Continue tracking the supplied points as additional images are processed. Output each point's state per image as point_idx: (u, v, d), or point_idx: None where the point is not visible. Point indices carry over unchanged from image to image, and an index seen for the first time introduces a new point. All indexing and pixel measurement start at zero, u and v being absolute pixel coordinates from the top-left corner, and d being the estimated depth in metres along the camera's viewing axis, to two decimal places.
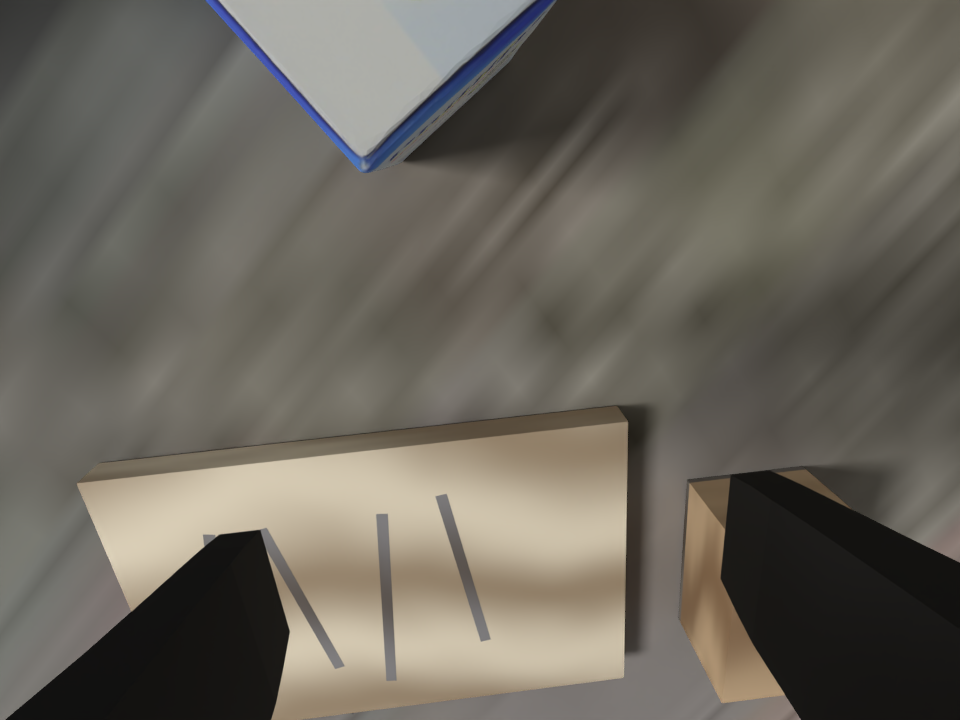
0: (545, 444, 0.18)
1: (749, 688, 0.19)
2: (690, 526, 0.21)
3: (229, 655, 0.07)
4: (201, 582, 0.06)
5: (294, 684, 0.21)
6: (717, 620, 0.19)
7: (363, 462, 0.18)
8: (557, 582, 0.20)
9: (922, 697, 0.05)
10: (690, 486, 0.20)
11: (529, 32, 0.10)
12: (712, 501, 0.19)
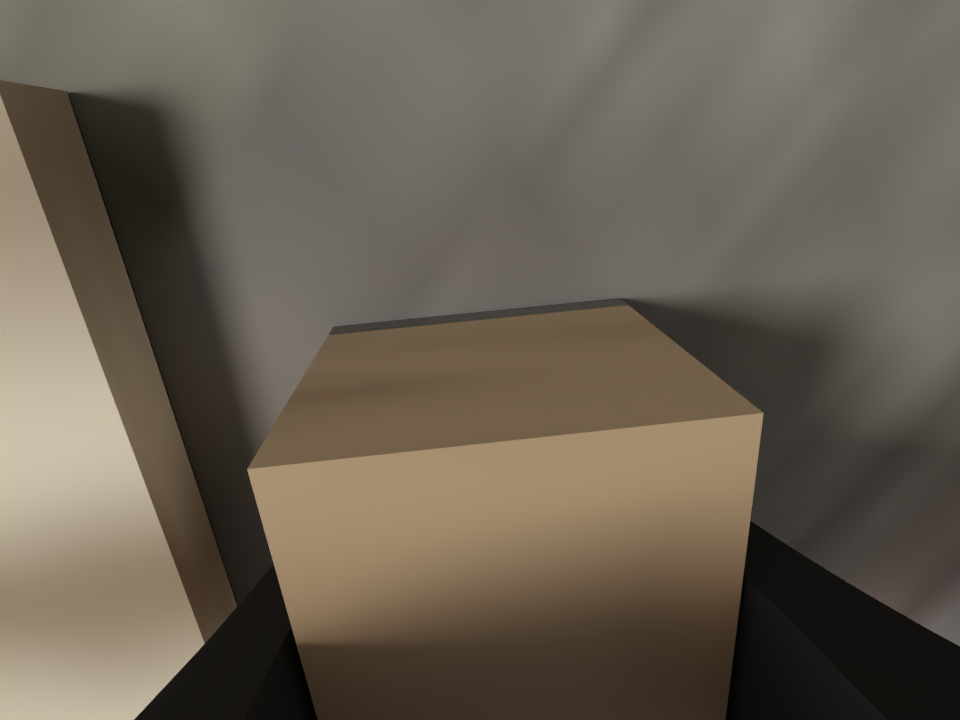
0: None
1: None
2: None
3: None
4: None
5: None
6: None
7: None
8: None
9: (792, 714, 0.05)
10: None
11: None
12: (333, 363, 0.07)
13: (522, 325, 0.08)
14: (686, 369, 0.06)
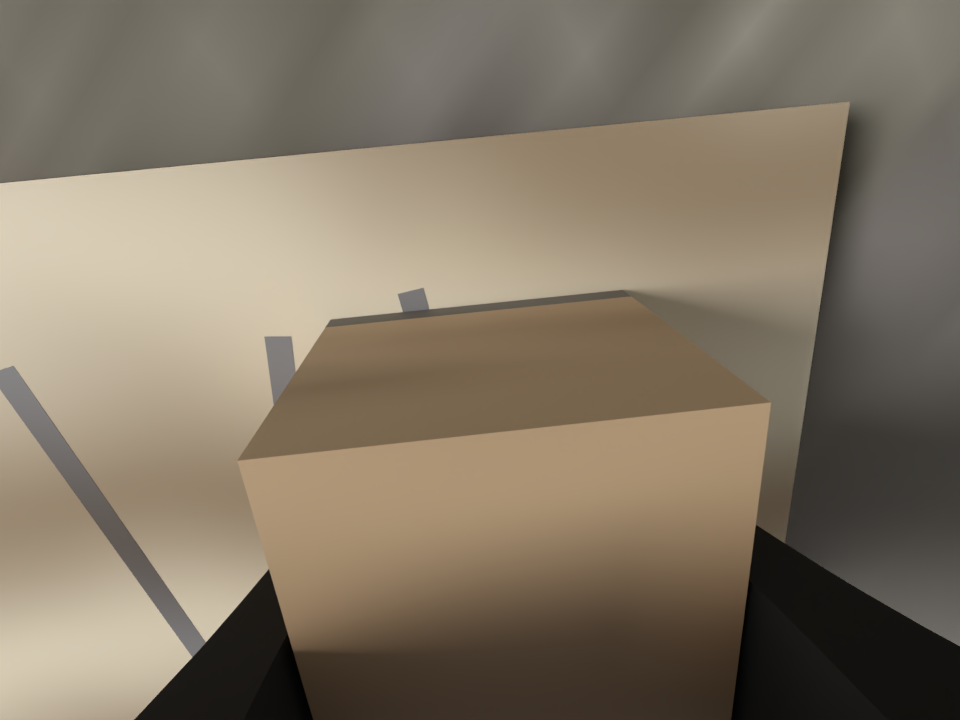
0: (653, 160, 0.08)
1: None
2: None
3: None
4: None
5: (133, 713, 0.11)
6: None
7: (222, 195, 0.07)
8: None
9: (793, 714, 0.05)
10: None
11: None
12: (329, 354, 0.07)
13: (522, 317, 0.07)
14: (690, 359, 0.06)
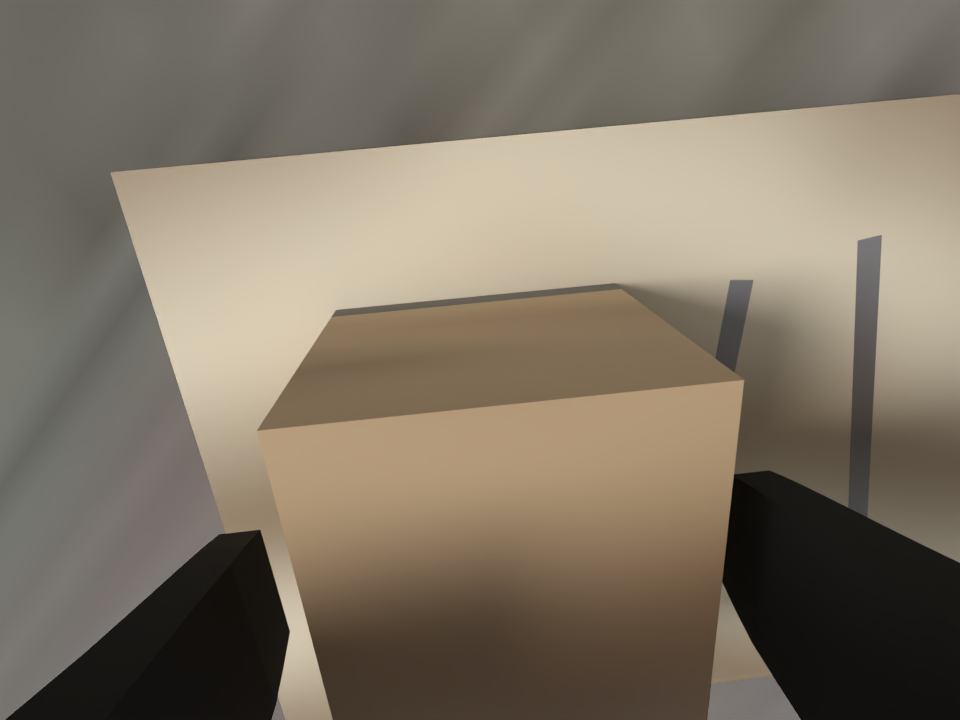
0: None
1: None
2: None
3: (229, 655, 0.07)
4: (201, 582, 0.06)
5: None
6: None
7: (736, 145, 0.08)
8: None
9: (922, 697, 0.05)
10: None
11: None
12: (336, 341, 0.07)
13: (518, 307, 0.08)
14: (673, 343, 0.06)
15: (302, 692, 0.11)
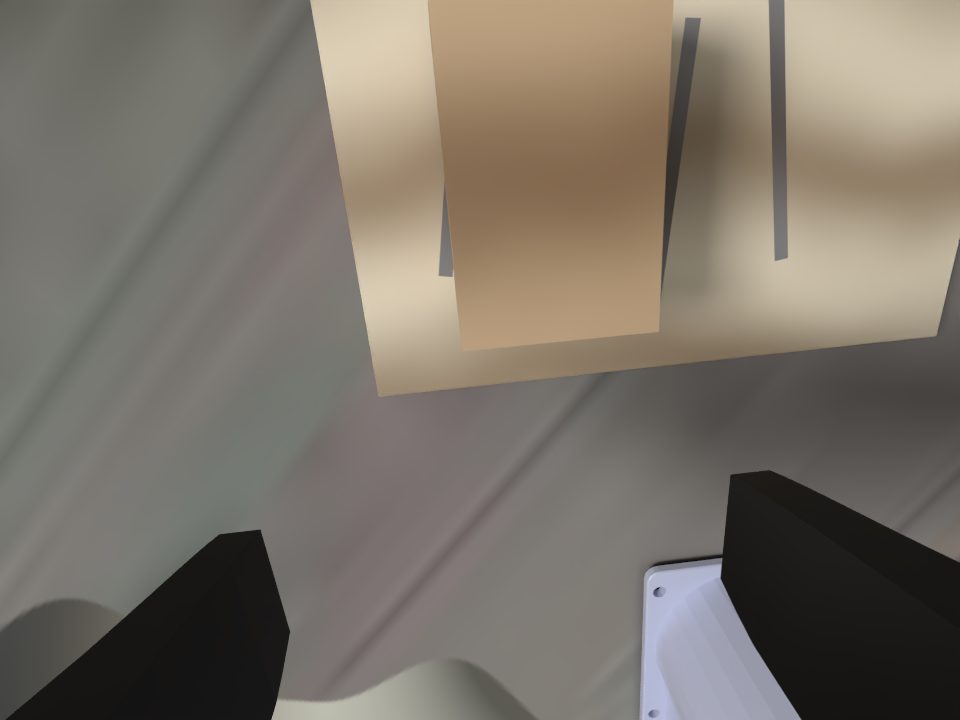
0: None
1: (502, 322, 0.12)
2: (437, 107, 0.13)
3: (229, 655, 0.07)
4: (201, 582, 0.06)
5: None
6: None
7: None
8: (891, 162, 0.15)
9: (922, 697, 0.05)
10: None
11: None
12: None
13: None
14: None
15: (388, 353, 0.16)
